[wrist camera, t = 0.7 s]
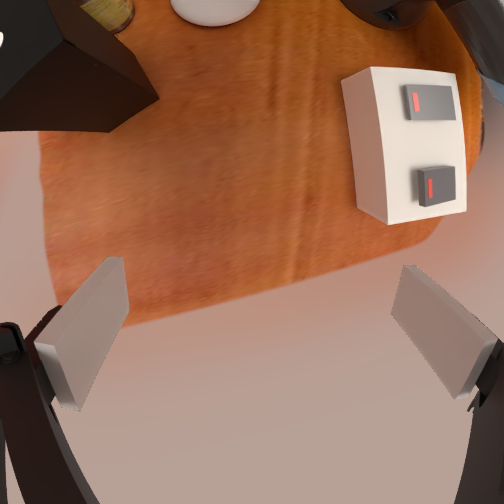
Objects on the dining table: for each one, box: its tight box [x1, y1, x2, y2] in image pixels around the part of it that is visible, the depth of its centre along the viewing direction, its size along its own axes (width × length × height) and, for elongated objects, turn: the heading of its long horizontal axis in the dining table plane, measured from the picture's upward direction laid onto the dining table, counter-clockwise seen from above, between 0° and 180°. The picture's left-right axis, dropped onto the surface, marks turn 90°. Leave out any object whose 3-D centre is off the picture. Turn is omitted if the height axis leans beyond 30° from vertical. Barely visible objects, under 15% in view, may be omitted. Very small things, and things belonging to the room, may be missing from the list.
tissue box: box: [0, 0, 159, 133], centre depth 19 cm, size 8×8×28 cm
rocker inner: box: [403, 84, 456, 120], centre depth 26 cm, size 6×4×1 cm
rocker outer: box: [417, 166, 456, 207], centre depth 29 cm, size 6×4×1 cm
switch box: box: [341, 67, 466, 225], centre depth 33 cm, size 12×17×9 cm
